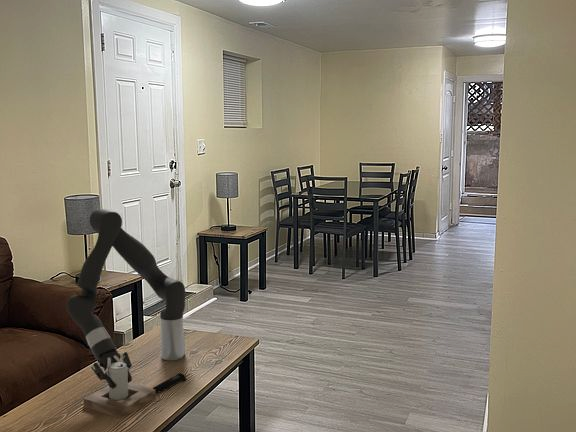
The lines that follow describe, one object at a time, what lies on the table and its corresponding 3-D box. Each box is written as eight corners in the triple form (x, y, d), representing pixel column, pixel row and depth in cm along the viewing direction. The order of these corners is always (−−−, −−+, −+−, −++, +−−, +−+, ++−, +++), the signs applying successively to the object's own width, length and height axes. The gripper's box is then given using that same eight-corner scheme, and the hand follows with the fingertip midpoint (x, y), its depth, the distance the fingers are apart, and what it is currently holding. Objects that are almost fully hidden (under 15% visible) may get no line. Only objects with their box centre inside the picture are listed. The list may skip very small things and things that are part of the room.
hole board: (119, 387, 212) (119, 379, 211) (155, 397, 204) (155, 389, 204) (83, 406, 197) (83, 398, 196) (121, 418, 189) (120, 409, 189)
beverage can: (122, 402, 196) (122, 369, 194) (105, 400, 198) (104, 367, 196) (131, 394, 202) (130, 362, 201) (114, 392, 204) (114, 360, 202)
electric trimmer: (150, 393, 208) (149, 385, 208) (179, 378, 221) (179, 370, 220) (157, 396, 206) (157, 388, 206) (187, 380, 219) (187, 372, 218)
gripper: (87, 343, 196) (109, 386, 191) (122, 332, 207) (144, 372, 202) (78, 354, 200) (100, 396, 195) (113, 343, 211) (134, 382, 206)
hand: (122, 384), depth 198 cm, fingers closed on beverage can, 5 cm apart
